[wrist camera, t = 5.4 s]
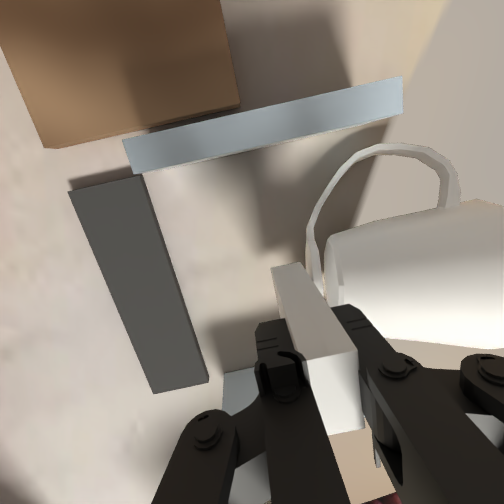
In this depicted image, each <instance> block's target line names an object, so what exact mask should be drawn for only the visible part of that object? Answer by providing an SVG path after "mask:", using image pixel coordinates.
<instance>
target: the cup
mask: <svg viewBox="0 0 504 504" xmlns="http://www.w3.org/2000/svg"><path fill="white" fill-rule="evenodd" d="M373 155H398V156H405V157H412V158H417V159H418V160H420V161H421V162H423V163H424V164H426V165H428V166H429V167H431V168H432V169H434V170H435V171H436V172H437V174H438V176H439V178H440V192H439V200H438V205H437V208H434V209H429V210H425V211H420V212H415V213H411V214H406V215H401V216H397V217H392V218H387V219H382V220H377V221H373V222H370V223H367V224H364V225H361V226H358V227H354V228H351V229H348V230H345V231H342V232H339V233H336V234H333V235H331V236H330V237H329V238H328V239H327V243H326V247H325V250H324V280H325V288H326V296H327V304H328V305H329V307H335V306H340V305H345V304H350V305H352V306H354V307H356V308H358V309H360V310H361V311H362V312H363V314H364V315H365V316H366V317H367V319H369V321H370V322H371V323H372V324H373V326H374V327H375V328H376V329H377V330H378V331H379V332H380V334H381V335H382V336H383V337H384V338H391V339H401V340H411V341H421V342H431V343H440V344H447V345H455V346H463V347H472V348H482V349H497V348H504V206H501V205H498V204H494V203H490V202H486V201H483V200H479V199H474V200H469V201H464V202H460V197H461V190H460V186H459V180H458V175H457V172H456V171H455V169H454V167H453V166H452V164H451V162H450V161H449V160H448V159H446V158H445V157H443V156H442V155H440V154H439V153H437V152H435V151H434V150H432V149H431V148H429V147H424V146H418V145H411V144H405V143H382V144H376V145H373V146H371V147H368V148H366V149H363V150H360V151H358V152H356V153H355V154H354V155H353V156H352V157H351V158H349V159H348V160H347V161H346V162H345V163H344V164H343V165H342V166H341V167H340V168H339V169H338V171H337V172H336V174H335V175H334V177H333V178H332V180H331V181H330V183H329V184H328V186H327V187H326V189H325V191H324V192H323V194H322V195H321V197H320V199H319V200H318V202H317V204H316V205H315V207H314V209H313V212H312V215H311V217H310V220H309V222H308V225H307V227H306V249H305V262H306V271H307V273H308V274H309V276H310V278H311V279H312V281H313V282H314V284H315V285H316V287H317V288H318V290H319V291H320V293H321V294H322V296H323V281H322V272H321V264H320V256H319V250H318V247H317V245H316V242H315V240H314V225H315V223H316V220H317V217H318V215H319V212H320V210H321V207H322V205H323V204H324V202H325V201H326V199H327V197H328V196H329V194H330V193H331V191H332V190H333V188H334V186H335V185H336V184H337V182H338V181H339V179H340V178H341V177H342V176H343V175H344V174H345V173H346V171H347V170H348V169H349V168H350V167H351V166H352V165H353V164H354V163H356V162H358V161H361V160H363V159H366V158H368V157H371V156H373Z"/></svg>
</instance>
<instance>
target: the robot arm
mask: <svg viewBox="0 0 504 504" xmlns="http://www.w3.org/2000/svg"><path fill="white" fill-rule="evenodd" d="M271 273H272V278H273V283H274V288H275V293H276V298H277V303H278V309H279V314H280V318H281V319H277V320H272V321H268V322H263V323H259V325H258V327H257V329H256V331H255V337H256V345H257V354H258V361H257V362H256V363H255V368H254V374H255V378H256V382H257V386H258V390H259V394H258V396H257V397H256V399H255V400H254V401H253V402H252V403H251V404H250V405H249V406H248V407H246V408H245V409H243V410H241V411H240V412H238V413H236V414H234V415H232V416H230V415H229V414H228V413H227V412H225V411H222V410H217V409H215V410H209V411H205V412H203V413H201V414H199V415H197V416H196V417H194V418H193V419H192V420H191V421H190V422H189V423H188V424H187V425H186V427H185V429H184V430H183V432H182V434H181V436H180V438H179V440H178V443H177V445H176V447H175V450H174V452H173V454H172V457H171V459H170V461H169V464H168V466H167V468H166V471H165V473H164V475H163V478H162V480H161V482H160V485H159V487H158V489H157V492H156V494H155V496H154V498H153V501H152V503H151V504H265V503H266V502H268V501H269V500H271V502H272V504H351V503H350V500H349V497H348V494H347V492H346V488H345V485H344V482H343V479H342V477H341V474H340V471H339V468H338V465H337V462H336V459H335V456H334V453H333V450H332V447H331V444H330V441H329V438H328V436H329V435H334V434H338V433H344V432H349V431H354V430H359V429H363V428H365V421H364V416H365V418H366V420H367V422H368V424H369V426H370V428H371V429H372V439H373V449H374V459H375V464H376V467H377V468H378V467H381V465H380V459H381V461H382V463H383V465H384V467H385V469H386V471H387V474H388V476H389V478H390V480H391V482H392V484H393V486H394V488H395V490H396V492H397V494H398V496H399V498H400V500H401V502H402V504H504V357H500V356H496V355H492V354H474V355H470V356H467V357H465V358H464V359H463V360H462V361H461V367H460V370H446V369H432V368H425V367H423V366H422V365H421V364H420V363H418V362H417V361H416V360H415V359H413V358H412V357H409V356H407V355H405V354H403V353H398V352H396V351H395V350H394V349H393V348H392V347H391V346H390V344H389V343H388V342H387V341H386V340H385V338H384V337H383V336H382V335H381V334H380V332H379V331H378V330H377V329H376V328H375V327H374V326H373V324H372V323H371V322H370V321H369V319H367V317H366V316H365V315H364V314H363V312H362V311H361V310H360V309H358V308H356V307H354V306H352V305H350V304H345V305H340V306H335V307H329V305H328V304H327V302H326V301H325V299H324V298H323V296H322V294H321V293H320V291H319V290H318V288H317V287H316V285H315V284H314V282H313V281H312V279H311V278H310V276H309V274H308V273H307V271H306V270H305V268H304V267H303V265H302V264H301V262H296V263H291V264H287V265H282V266H277V267H272V268H271Z"/></svg>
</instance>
